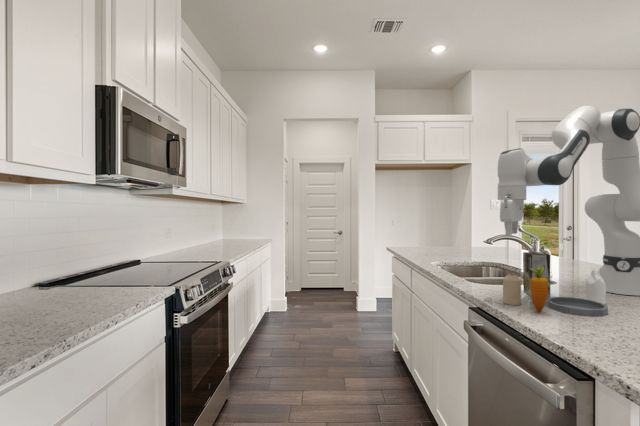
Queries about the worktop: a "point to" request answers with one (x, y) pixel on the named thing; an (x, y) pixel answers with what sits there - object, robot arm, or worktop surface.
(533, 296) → the carrot
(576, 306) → the dish
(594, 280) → the white plastic bottle
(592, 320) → the worktop surface
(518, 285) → the candle
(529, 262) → the coffee box
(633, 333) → the worktop surface
